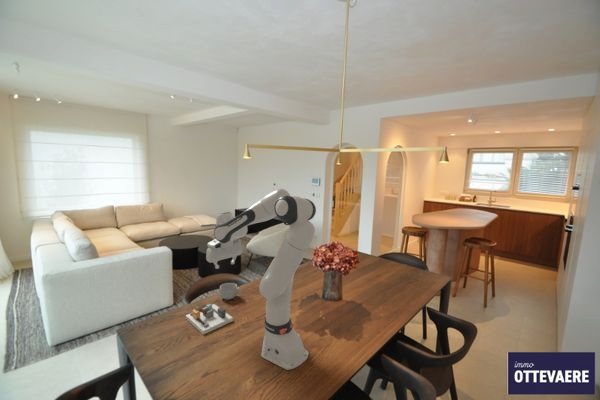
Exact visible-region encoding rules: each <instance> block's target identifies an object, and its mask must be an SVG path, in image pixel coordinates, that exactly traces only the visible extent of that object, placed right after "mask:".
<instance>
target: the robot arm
mask: <svg viewBox="0 0 600 400" xmlns="http://www.w3.org/2000/svg"><path fill="white" fill-rule="evenodd" d="M316 213H317V207H316V205H315V203H314V202H313V201H311V200H310V199H308V198H303V197H300V196H295V195H294V196H293V195H292V196H291V193H289V192H288V191H287V190H286V189H284V188H278V189H277V188H276V190H275V189H274V190H272V191H271V192H268V193H267V194H266V195H264V196H263V197H261V198H260V199H259V200H257V201H255V203H254V204H253V205H251V206H250V207H248V208H247V209H246V210H244V211H243V212H241V213H239V214H238V215H236V216H235V215H234V214H233V213H232V212H230V211H226V212H221V213H218V214H217V216H216V221H215V228H214V230H213V235H214V239H213V240H211V241H209V242H207V248H206V254H205V260H206V261H207V262H208V263H210V264H211V263H213V265H214V268H215V269H216V270H217V269H220V264H218V262H219V261H222V260H226V259H230V258H232V259H231V260H230V265H235V263H236V262H235V261H236V259H237V257H239V256H241V255H242V253H243V248H242V247H243V246H242V240H241V239H240V238H243V237H245V236H247V234H248V231H249V228H248V227H249V226H251V225H255V224H258V223H263V222H267V221H269V220H272V219H274V218H276V217H277V218H278V219H279V220H280V221H281V222H283V224H284V225H285V226H289V229H288V231H287V234H286V236H285V237H284V240H283V241H282V243H281V245H280V246H279V247H280V248H279V249H278V251H277V253H276V255H275V256H274V258H273V260H272V261H271V262H270V265H269V266H268V268H267V269H266V271H265V273H264V274H263V277H261V280H260V282H259V285H258V289H259V292H260V295H261V296H262V297H263V298H264V299H266V301H265V317H264V333H263V334H264V335H263V339H262V340H263V342H262V346H261V352H260V357H261V358H262V359H265V360H267V361H268V362H271V363H273V364H275V365H276V366H278V367H280V368H282V369H284V370H287V371H289V370H293V369H295V368H297V367H299V366H300V365H302V364H304V362H306V360H307V359H308V358H309V351H308V350H307V349H306V348H305V347H304V344H303V343H304V342H303V340H302V339H301V335H300V333H298V332H296V330H295V329H294V327H295V323H294V322H292V319H291V317H290V316H291V299H292V293H293V292H292V291H293V288H294V287H293V285H294V278H295V273H296V271H297V269H298V267H300V265H301V263H302V261H303V259H304V257H305V256H306V253H307V251H308V250H309V248H310V246H311V243H312V240H313V238H314V235H315V231H316V230H315V228H316V227H315V226H314V224H313V223H312V222H311V221H310V220H313V219H314V217H315V215H316Z"/></svg>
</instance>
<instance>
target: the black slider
mask: <svg viewBox="0 0 600 400" xmlns="http://www.w3.org/2000/svg"><path fill="white" fill-rule="evenodd" d="M226 311H227V310H226V309H225V308H224V307H222V306H221V307H219V308H218V315H219V316H220V317H221V318H222V317H224V316H226V313H227V312H226Z"/></svg>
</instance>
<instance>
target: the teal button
mask: <svg viewBox="0 0 600 400" xmlns="http://www.w3.org/2000/svg"><path fill="white" fill-rule="evenodd" d="M212 305H213V304H212V303H208V304H205V307H206V308H207V307H210V309H211V308H212Z"/></svg>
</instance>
